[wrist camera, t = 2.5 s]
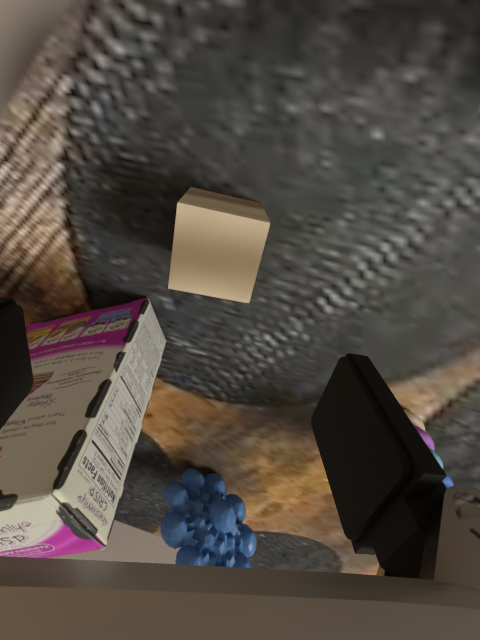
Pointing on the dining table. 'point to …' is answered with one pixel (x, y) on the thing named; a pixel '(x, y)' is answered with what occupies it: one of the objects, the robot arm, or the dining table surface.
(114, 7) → the dining table surface
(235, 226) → the beech block
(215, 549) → the grapes
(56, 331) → the candy bar box
